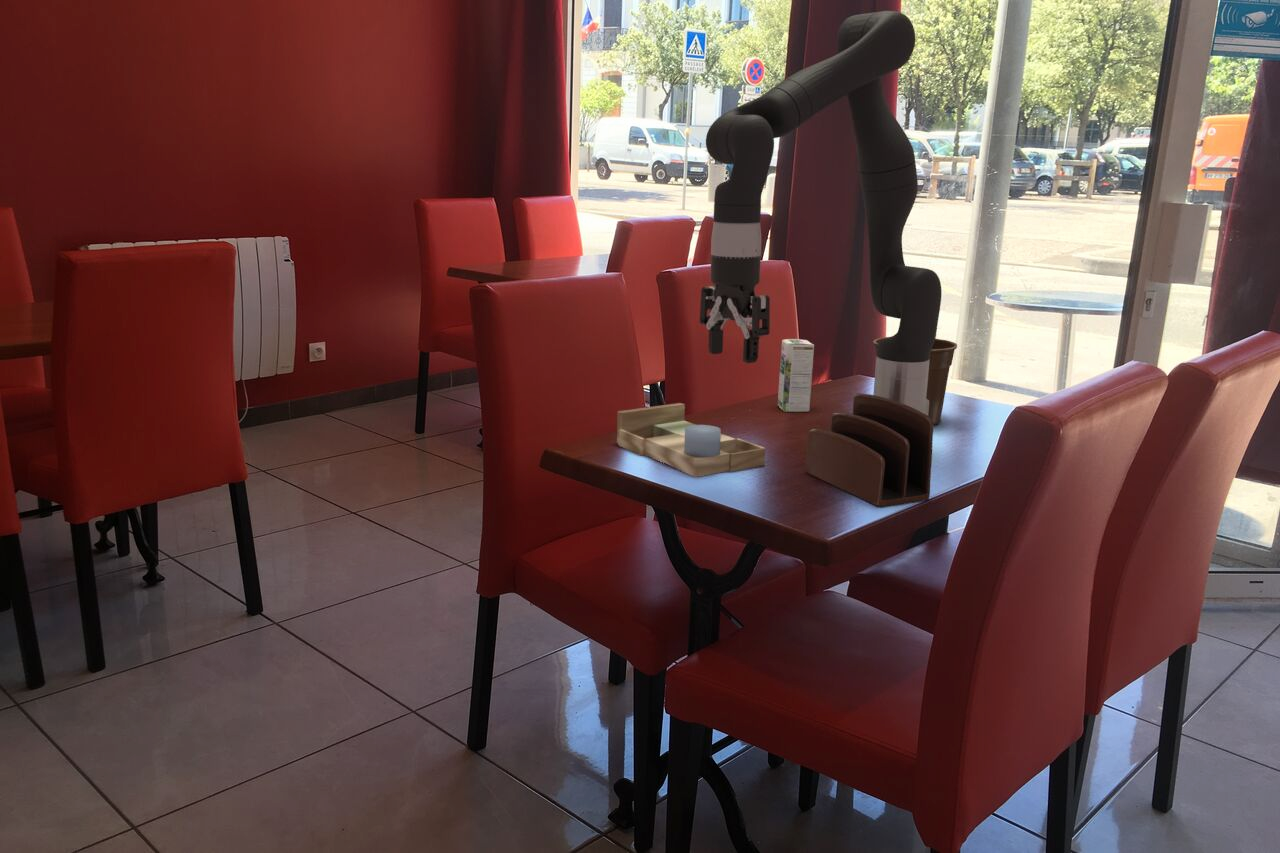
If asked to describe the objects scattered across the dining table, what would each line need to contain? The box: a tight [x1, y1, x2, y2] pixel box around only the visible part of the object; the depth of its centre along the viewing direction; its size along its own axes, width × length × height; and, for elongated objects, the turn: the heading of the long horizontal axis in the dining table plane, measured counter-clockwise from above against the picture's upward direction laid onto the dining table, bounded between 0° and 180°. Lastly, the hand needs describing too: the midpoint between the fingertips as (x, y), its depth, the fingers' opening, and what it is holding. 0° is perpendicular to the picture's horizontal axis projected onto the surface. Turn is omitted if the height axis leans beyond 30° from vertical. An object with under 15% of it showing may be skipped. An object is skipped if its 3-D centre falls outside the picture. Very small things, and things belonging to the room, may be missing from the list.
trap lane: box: [616, 402, 766, 478], centre depth 183 cm, size 25×15×6 cm, turn 34°
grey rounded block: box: [684, 424, 722, 457], centre depth 173 cm, size 6×6×4 cm
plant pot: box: [872, 336, 958, 426], centre depth 209 cm, size 16×16×16 cm
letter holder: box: [805, 392, 934, 508], centre depth 166 cm, size 10×20×14 cm, turn 25°
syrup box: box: [777, 338, 815, 413], centre depth 217 cm, size 6×6×14 cm
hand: (732, 357), depth 161 cm, fingers open, 8 cm apart
